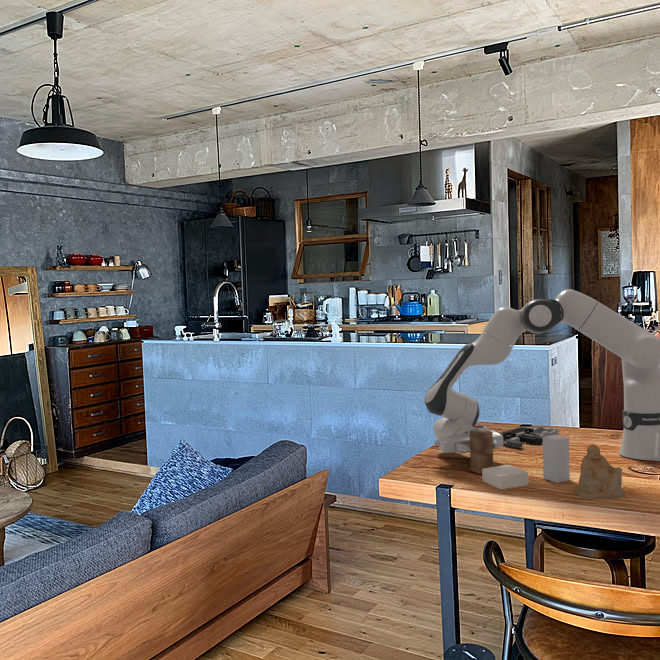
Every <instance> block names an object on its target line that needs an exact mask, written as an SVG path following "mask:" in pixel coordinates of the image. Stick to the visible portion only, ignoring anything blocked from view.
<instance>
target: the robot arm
mask: <svg viewBox="0 0 660 660" xmlns="http://www.w3.org/2000/svg"><path fill="white" fill-rule="evenodd" d="M559 323H562V324H566V325H568V326H570V327H572V328H574V330H575V331H578V332H580V333H581V334H583V335H584V336H586V337H587V338H589V339H590V340H592V341H594V342H596V343H597V344H599V345H600V346H602V347H604V348H605V349H606V350H608V351H609V352H611V353H612V354H614V355H616V356H618V357H619V358H621V369H622V381H623V382H622V383H623V409H622V424H623V431H622V432H623V433H622V439H621V444H620V449H619V451H618V454H619V455H621V456H622V457H625V458H629V459H635V460H642V461H655V462H660V338H659V337H658V336H656V335H655V334H653V333H652V332H650V331H648V330H647V329H645V328H644V327H641V326H640V325H638V324H637V323H635V322H633V321H631V320H629V319H628V318H626V317H625V316H623V315H621V314H619V313H618V312H616V311H615V310H613V309H611V308H609V307H608V306H606V305H605V304H603V303H601V302H600V301H598V300H596V299H594V298H593V297H591V296H589V295H587V294H584V293H582V292H580V291H577V290H574V289H571V288H570V289H569V288H567V289H565V290H563V291H561V292H560V293H558V294H557V296H556V297H555V298H554V299H549V298H548V299H547V298H536V299H533V300H531V301H529V302H527V303H526V304H525V305H524V306H523V307H521V308H520V309H515V308H512V307H508V306H503V307H499V308H497V309H496V311H495V312H494V313H493V314H492V316H491V317H490V318H489V320H488V322H487V323H486V324H485V327H484V329H483V330H482V333H481V334H480V335H479V337H478V338H476V339H475V341H473V342H471V343H467V344H465V345H464V346H463V347H461V349H460V350H459V351H458V352H457V354H456V355H455V357H453V359H452V360H451V362H450V363H449V364H448V366H447V367H446V369H444V371H443V373H442V374H441V375H440V377H439V378H438V379H437V381H435V383H434V384H432V385H431V386H430V387H429V389H428V391H426V393H425V396H424V404H425V406H426V409H427V411H428V412H429V413H430V414H432V415H435V416H439V417H441V418H439V419H436V420H435V422H434V424H433V427H432V431H433V435H434V437H435V438H436V440H435V441H433V443H434V445H436V446H438V449H439V450H440V451H442V452H443V453H445V454H451V453H460V454H466V453H470V430H478V429H486V430H489V431H491V432H492V434H493V450H498V449H499V448H503V446H504V443H503V436H502V435H501V434H500V433H501V432H497V431H495V430H493V429H492V430H491V429H489V428H488V426H484V425H477V423H478V421H479V418H480V414H481V413H480V406H479V402H478V401H477V399H475V398H473V397H471V396H468V395H467V394H464V393H461V392H460V391H457V390H455V389H452V388H453V386H454V385H455V383H456V382H457V380H458V379H459V378H460V377H461V375H462V374H463V372H465V370H466V369H468V368H469V367H471V366H481V365H482V366H495V365H499V364H501V363H503V362H504V361H506V359H508V357H509V355H510V354H511V353H512V350H513V348H514V346H515V344H516V342H517V340H518V339H519V337H520V336H521V335H522V334H523V333H525V332H528V333H532V334H536V335H537V334H541V335H542V334H545V333H548V332H549V331H551V330H552V329H553V328H555V327H556V326H557V325H558V324H559Z"/></svg>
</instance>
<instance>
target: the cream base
mask: <svg viewBox="0 0 660 660" xmlns="http://www.w3.org/2000/svg"><path fill="white" fill-rule="evenodd" d="M481 474H482V476H481V477H482V482H483V481H484V482H483V483H485V482H486V483H485V484H487V483H488V485H489V484H490V486H492V485H493V486H492V487H494V486H495V487H494V488H496V487H497V488H496V489H498V488H499V489H498V490H500V489H503V490H506V489H505V488H509V489H511V488H510V487H515V488H518V487H517V486H521V487H524V486H523V485H527V486H529V485H530V484H529V480H530V479H529V471H526V470H523V469H522V468H519V467H516V466H514V465H511V464H504V465H498V466H493V467H490V468H483V469H482V473H481ZM528 484H529V485H528Z"/></svg>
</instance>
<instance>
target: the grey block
mask: <svg viewBox="0 0 660 660" xmlns="http://www.w3.org/2000/svg"><path fill="white" fill-rule="evenodd" d="M542 470H543V476H542V477H543V480H547V481H549V480H550V482H553V483H557V484H558V483H561V482H565V481H570V480H571V477H570V473H571V472H570V471H571V470H570V437H567V436H563V435H559V434H558V435H551V436H546V437H543V443H542ZM569 479H570V480H569Z"/></svg>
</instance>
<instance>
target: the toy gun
mask: <svg viewBox="0 0 660 660" xmlns="http://www.w3.org/2000/svg"><path fill="white" fill-rule="evenodd" d="M499 433H500V434H501V435H502V436H503V445H505V446H507V447H508V446H509V447H515V448H517V449H520V448H523V445H524V443H525V442H527V443H528V444H527V445H530V444H529V443H532V444H533V445H534V444H539V445H540V444H543V437H546V436H551V435H559V429H557V428H556V427H551V428H547V427H545V426H540V425H535V424H532V425H531V426H530V427H525V426H519V427H516V428H511V429H509V430H506V431H505V430H504V431H502V432H499Z"/></svg>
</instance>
